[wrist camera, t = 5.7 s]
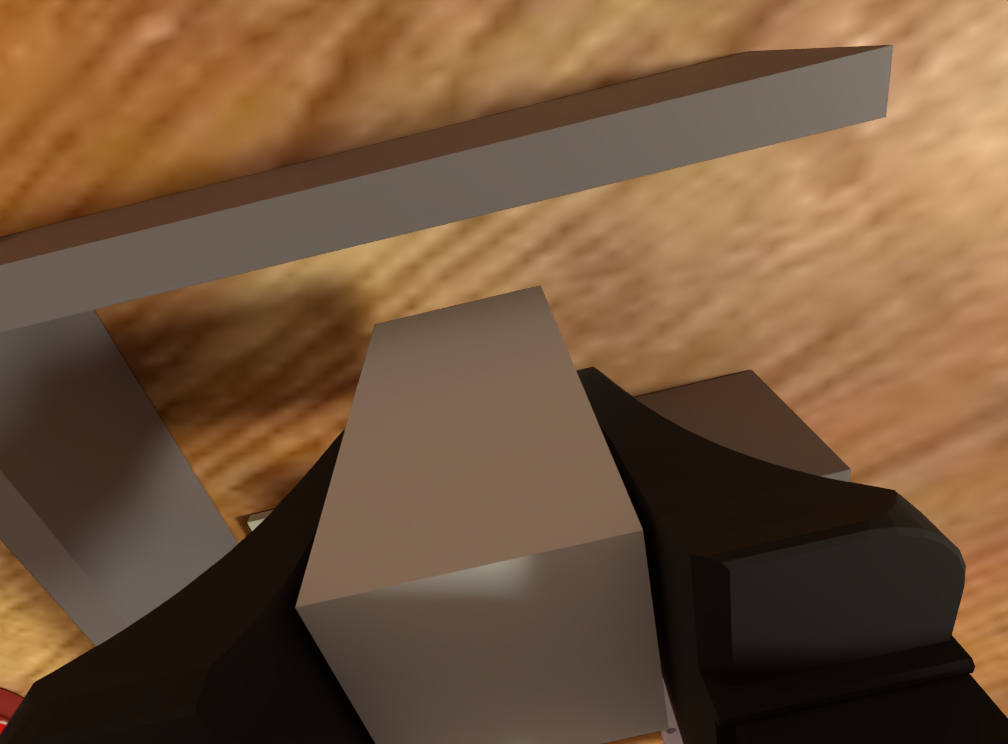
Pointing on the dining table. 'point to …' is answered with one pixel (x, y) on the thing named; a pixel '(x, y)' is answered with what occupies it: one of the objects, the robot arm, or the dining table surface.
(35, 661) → the dining table surface
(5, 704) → the smoothie
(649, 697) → the block
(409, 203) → the rails
